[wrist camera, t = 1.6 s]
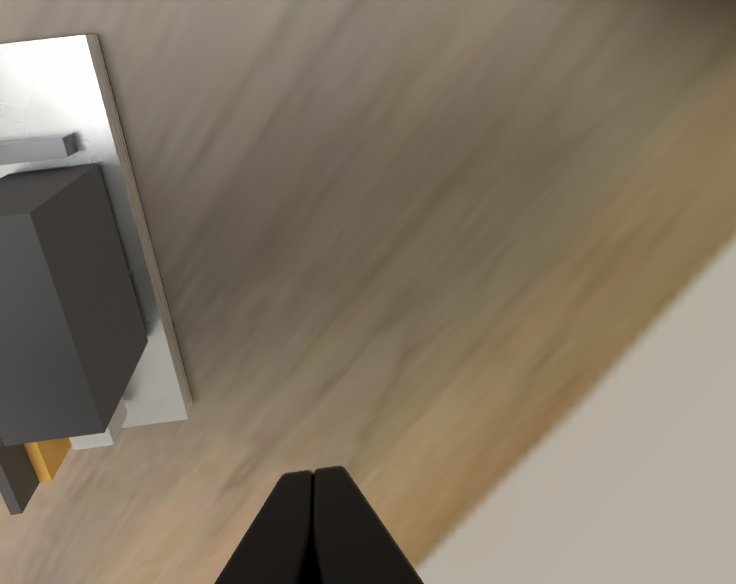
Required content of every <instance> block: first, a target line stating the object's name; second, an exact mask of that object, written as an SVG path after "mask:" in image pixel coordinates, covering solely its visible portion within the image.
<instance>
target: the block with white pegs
mask: <svg viewBox="0 0 736 584" xmlns="http://www.w3.org/2000/svg"><path fill="white" fill-rule="evenodd" d="M147 343H148V338H147V335H146V331H145V328H144V324H143V321H142V317H141V314H140V310H139V307H138V303H137V300H136V296H135V292H134V289H133V285H132V282H131V278H130V275H129V271H128V268H127V264H126V261H125V257H124V254H123V250H122V247H121V243H120V239H119V236H118V232H117V229H116V225H115V222H114V218H113V215H112V211H111V208H110V204H109V201H108V197H107V193H106V190H105V186H104V183H103V179H102V176H101V172H100V169H99V165H98V163H97V164H88V165H80V166H71V167H62V168H54V169H45V170H36V171H28V172H19V173H10V174H7V175H5V176H4V177H2V178H0V437H1V439H2V441H3V444H4V446H10V445H17V444H25V443H32V442H40V441H47V440H55V439H62V438H69V440H70V442H71V445H72V448H73V450H81V449H88V448H96V447H103V446H110V445H114V444H115V441H116V439H117V437H118V435H119V432H120V430H121V428H122V426H123V423H124V421H125V419H126V417H127V414H128V413H127V409H126V406H125V403H124V400H123V397H122V395H123V393H124V391H125V389H126V387H127V385H128V383H129V381H130V379H131V377H132V375H133V372H134V370H135V368H136V366H137V364H138V362H139V360H140V358H141V356H142V354H143V352H144V349H145V347H146V345H147Z"/></svg>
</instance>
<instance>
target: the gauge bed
mask: <svg viewBox="0 0 736 584" xmlns="http://www.w3.org/2000/svg"><path fill="white" fill-rule="evenodd" d="M97 163H98V165H99V169H100V172H101V176H102V179H103V183H104V186H105V190H106V193H107V197H108V201H109V204H110V208H111V211H112V215H113V218H114V222H115V225H116V229H117V232H118V236H119V239H120V243H121V247H122V250H123V254H124V257H125V261H126V264H127V268H128V271H129V275H130V278H131V282H132V285H133V289H134V292H135V296H136V300H137V303H138V307H139V310H140V314H141V317H142V321H143V324H144V328H145V331H146V335H147V338H148V343H147V345H146V347H145V349H144V352H143V354H142V356H141V358H140V360H139V362H138V364H137V366H136V368H135V370H134V372H133V375H132V377H131V379H130V381H129V383H128V385H127V387H126V389H125V391H124V393H123V395H122V397H123V400H124V403H125V406H126V409H127V413H128V414H127V417H126V419H125V421H124V423H123V426H122V428H127V427H134V426H142V425H149V424H157V423H164V422H172V421H179V420H187V419H188V418H189V414H190V411H191V407H192V404H193V400H192V397H191V393H190V389H189V385H188V381H187V377H186V373H185V370H184V366H183V362H182V358H181V354H180V350H179V347H178V343H177V339H176V335H175V331H174V327H173V324H172V320H171V316H170V312H169V308H168V304H167V301H166V297H165V293H164V289H163V285H162V281H161V277H160V274H159V270H158V266H157V262H156V258H155V254H154V251H153V247H152V243H151V239H150V235H149V231H148V228H147V224H146V220H145V216H144V212H143V208H142V204H141V201H140V197H139V193H138V189H137V185H136V181H135V178H134V174H133V170H132V166H131V162H130V158H129V155H128V151H127V147H126V143H125V139H124V135H123V131H122V128H121V124H120V120H119V116H118V112H117V108H116V105H115V101H114V97H113V93H112V89H111V85H110V82H109V78H108V74H107V70H106V66H105V62H104V58H103V55H102V51H101V47H100V43H99V39H98V35H97V34H90V35H80V36H71V37H62V38H52V39H43V40H34V41H24V42H15V43H6V44H0V178H2V177H4V176H5V175H7V174H10V173H19V172H28V171H36V170H45V169H54V168H62V167H71V166H80V165H88V164H97Z"/></svg>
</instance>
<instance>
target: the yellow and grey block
mask: <svg viewBox="0 0 736 584" xmlns="http://www.w3.org/2000/svg"><path fill="white" fill-rule="evenodd" d="M70 446H71V442H70V440H69V438H62V439H55V440H47V441H40V442H32V443H25V444H17V445H10V446H4V444H3V441H2V439H1V437H0V492H1V494H2V496H3V498H4V501H5V503H6V505H7V507H8V509H9V512H10V514H11V515H13V514H20V513H23V511H24V509H25V507H26V506H27V504H28V502H29V500H30V499H31V497H32V495H33V493H34V491H35V490H36V488H37V486H38V484H39V483H40V482H47V481H52V480H53V478H54V476H55V474H56V472H57V470H58V469H59V467H60V465H61V463H62V461H63V459H64V458H65V456H66V454H67V452H68V450H69V448H70Z"/></svg>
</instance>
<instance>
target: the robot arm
mask: <svg viewBox="0 0 736 584" xmlns="http://www.w3.org/2000/svg"><path fill="white" fill-rule="evenodd" d="M215 584H424V583H423V582H422V580H421V578H420V577H419V576H418V574H417V573H416V571H415V570H414V568H413V567H412V565H411V564H410V562H409V561H408V559H407V558H406V557H405V555H404V554H403V552H402V551H401V549H400V548H399V546H398V545H397V543H396V542H395V540H394V539H393V538H392V536H391V535H390V533H389V532H388V530H387V529H386V527H385V526H384V524H383V523H382V521H381V520H380V519H379V517H378V516H377V514H376V513H375V511H374V510H373V508H372V507H371V505H370V504H369V502H368V501H367V500H366V498H365V497H364V495H363V494H362V492H361V491H360V489H359V488H358V486H357V485H356V483H355V482H354V481H353V479H352V478H351V476H350V475H349V473H348V472H347V470H346V469H345V468H344V467H343V466H333V467H326V468H319V469H316V470H315V472H314V474H313V472H312V471H310V470H304V471H297V472H290V473H285V474H284V475H282V476H281V478H280V479H279V481H278V482H277V484H276V486H275V487H274V489H273V490H272V492H271V494H270V495H269V497H268V498H267V500H266V502H265V503H264V505H263V506H262V508H261V510H260V511H259V513H258V515H257V516H256V518H255V519H254V521H253V523H252V524H251V526H250V527H249V529H248V531H247V532H246V534H245V535H244V537H243V539H242V540H241V542H240V543H239V545H238V547H237V548H236V550H235V552H234V553H233V555H232V556H231V558H230V560H229V561H228V563H227V564H226V566H225V568H224V569H223V571H222V572H221V574H220V576H219V577H218V579H217V580H216V582H215Z"/></svg>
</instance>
